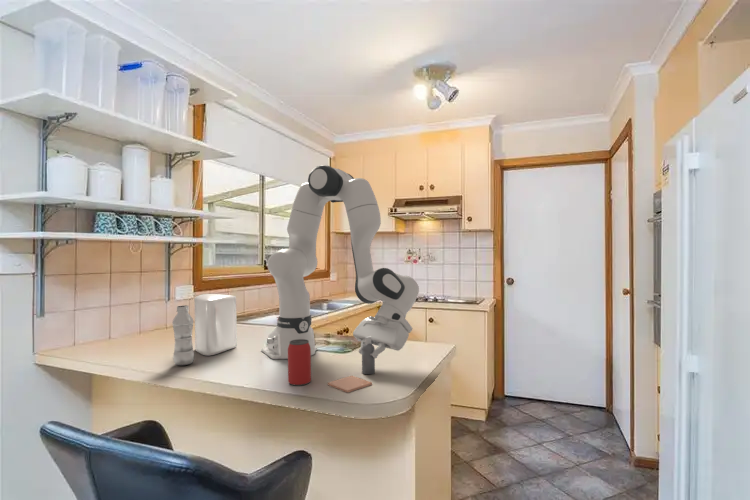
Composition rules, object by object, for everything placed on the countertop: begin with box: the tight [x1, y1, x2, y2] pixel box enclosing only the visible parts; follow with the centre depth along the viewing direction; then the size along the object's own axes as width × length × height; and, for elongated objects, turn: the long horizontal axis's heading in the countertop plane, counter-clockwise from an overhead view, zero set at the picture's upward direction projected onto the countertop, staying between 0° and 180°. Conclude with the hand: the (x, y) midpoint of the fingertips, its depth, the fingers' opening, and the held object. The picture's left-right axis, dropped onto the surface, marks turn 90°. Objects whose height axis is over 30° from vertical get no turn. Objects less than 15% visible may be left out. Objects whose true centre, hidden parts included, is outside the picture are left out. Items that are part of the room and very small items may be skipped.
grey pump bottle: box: [361, 336, 376, 375], centre depth 125 cm, size 4×4×11 cm
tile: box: [327, 375, 373, 393], centre depth 115 cm, size 9×9×1 cm
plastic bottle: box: [172, 304, 195, 366], centre depth 137 cm, size 6×7×20 cm
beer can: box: [287, 339, 312, 386], centre depth 117 cm, size 7×7×12 cm
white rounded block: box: [193, 293, 238, 356], centre depth 156 cm, size 15×14×22 cm
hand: (366, 355), depth 125 cm, fingers closed on grey pump bottle, 4 cm apart
